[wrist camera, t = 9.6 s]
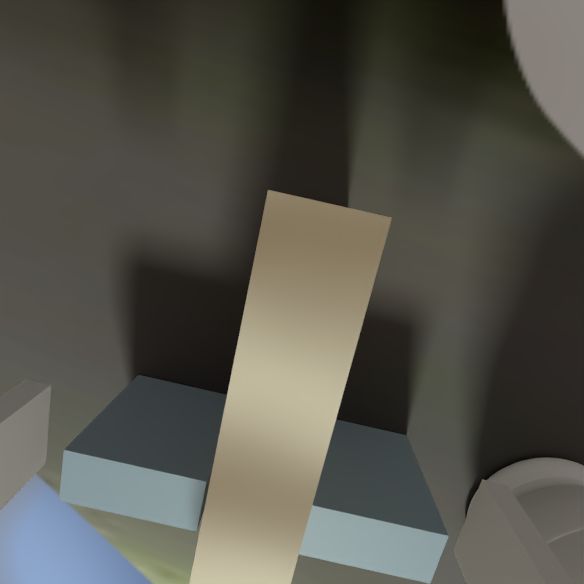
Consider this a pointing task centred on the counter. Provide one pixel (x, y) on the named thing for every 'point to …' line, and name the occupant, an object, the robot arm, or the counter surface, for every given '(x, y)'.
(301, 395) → the birch plate
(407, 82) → the counter surface
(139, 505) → the blue board
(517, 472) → the jar
